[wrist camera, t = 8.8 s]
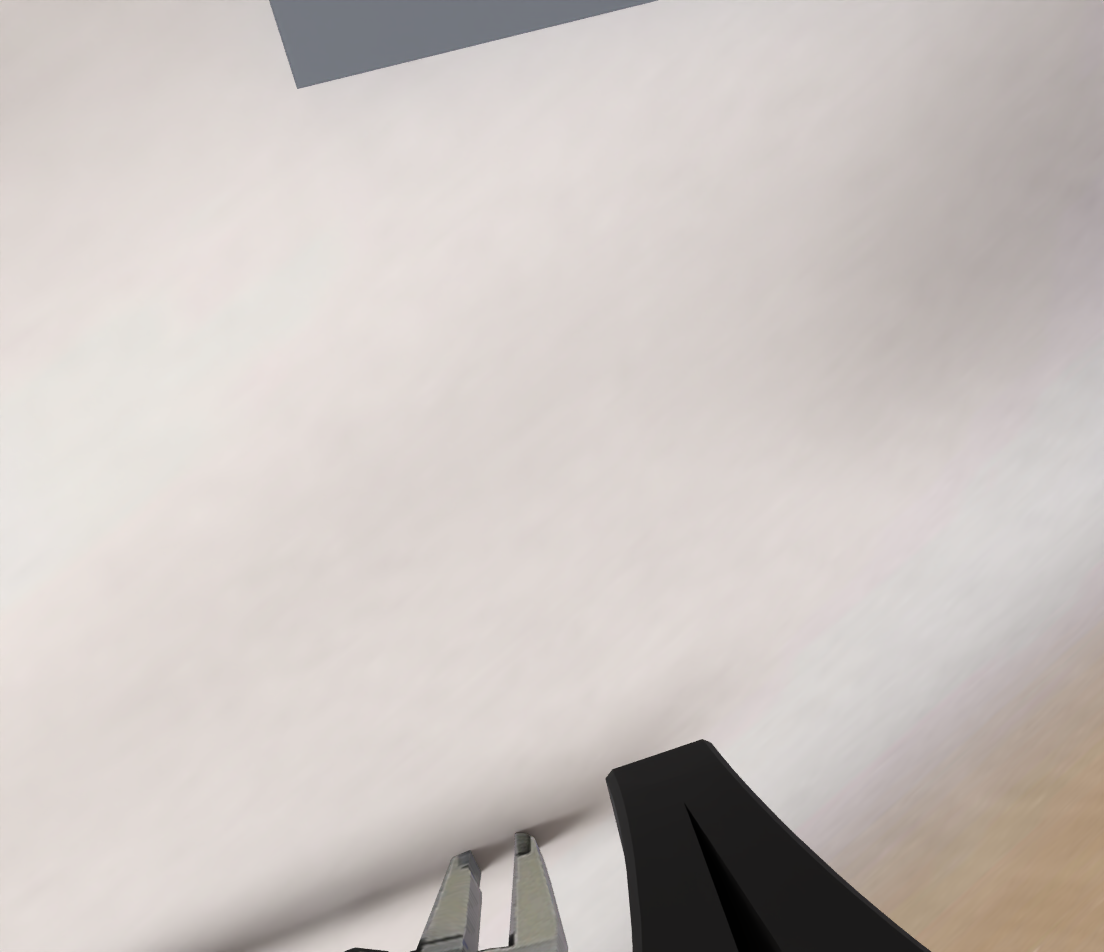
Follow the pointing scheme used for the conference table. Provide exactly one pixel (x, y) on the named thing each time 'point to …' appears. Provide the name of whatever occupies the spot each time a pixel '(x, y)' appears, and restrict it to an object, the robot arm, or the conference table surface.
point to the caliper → (458, 904)
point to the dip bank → (408, 29)
